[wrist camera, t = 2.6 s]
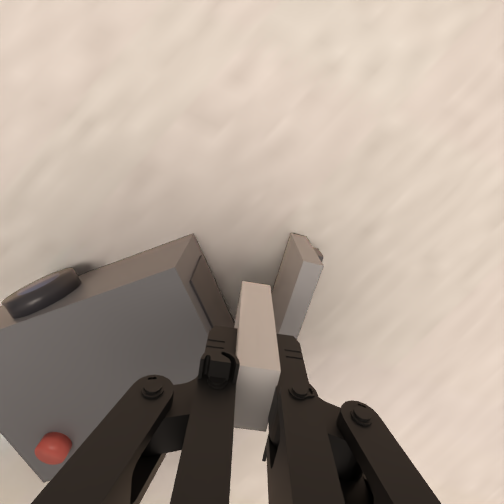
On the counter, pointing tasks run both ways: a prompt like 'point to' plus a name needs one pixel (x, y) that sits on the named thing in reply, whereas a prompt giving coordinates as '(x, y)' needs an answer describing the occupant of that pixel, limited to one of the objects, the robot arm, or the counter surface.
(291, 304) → the door
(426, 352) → the counter surface
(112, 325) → the housing
